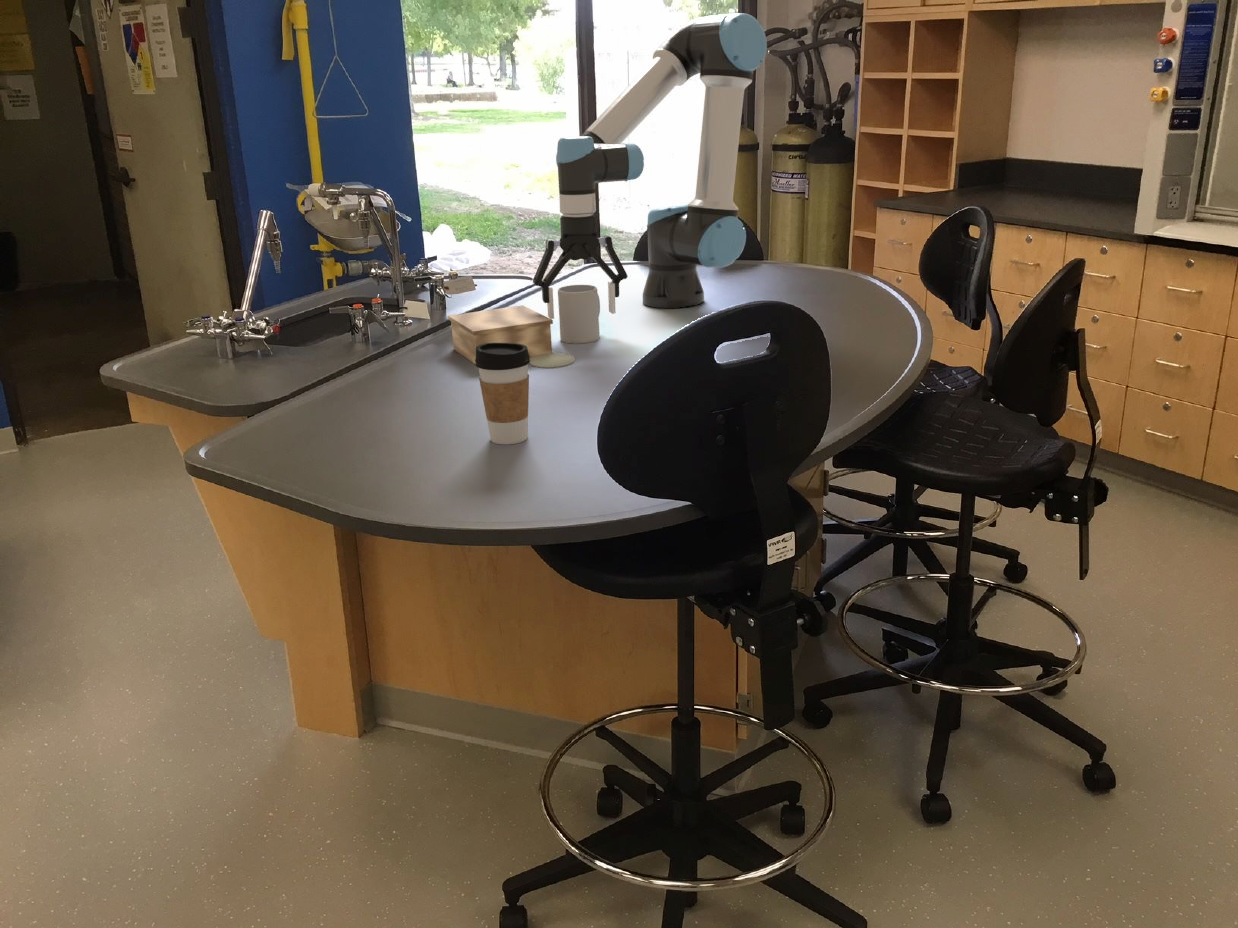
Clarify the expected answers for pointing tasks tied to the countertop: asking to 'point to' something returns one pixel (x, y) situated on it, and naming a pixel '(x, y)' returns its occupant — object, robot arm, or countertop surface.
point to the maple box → (501, 330)
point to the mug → (579, 313)
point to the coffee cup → (505, 390)
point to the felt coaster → (552, 360)
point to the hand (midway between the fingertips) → (581, 315)
